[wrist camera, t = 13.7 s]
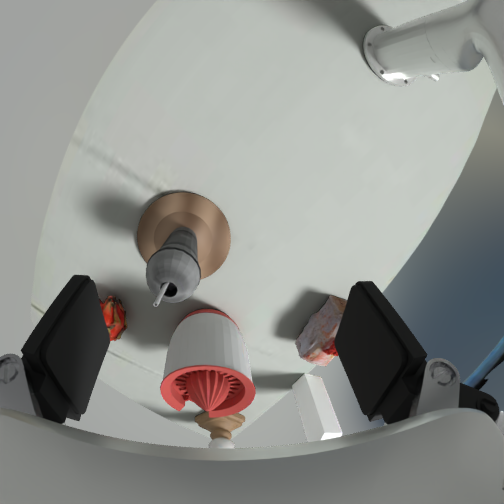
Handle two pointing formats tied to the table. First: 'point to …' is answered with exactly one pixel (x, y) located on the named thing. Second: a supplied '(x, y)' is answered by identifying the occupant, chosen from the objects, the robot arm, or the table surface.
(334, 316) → the food item
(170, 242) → the beverage cup
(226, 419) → the candle holder
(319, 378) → the milk
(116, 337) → the dragon fruit
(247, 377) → the citrus juicer
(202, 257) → the brown round plate
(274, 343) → the table surface
